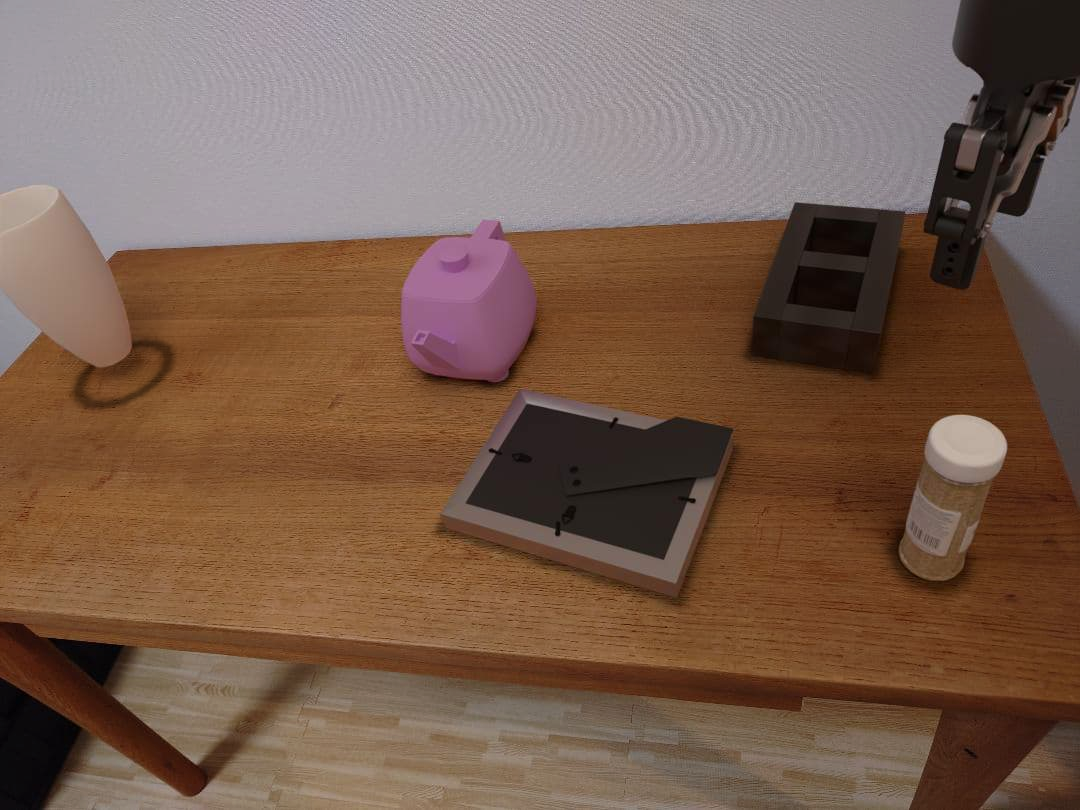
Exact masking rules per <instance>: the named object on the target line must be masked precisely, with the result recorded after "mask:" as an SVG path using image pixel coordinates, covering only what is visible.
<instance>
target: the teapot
mask: <svg viewBox="0 0 1080 810" xmlns="http://www.w3.org/2000/svg"><path fill="white" fill-rule="evenodd" d="M400 301H401V308H400V325H401V334H402V339H403V340H402V341H403V346H404V350H405V352H406V356H407V357H408V359H409V360H410V362H411V363H412V364H413V365H414V366H416V367H417V368H418V369H419V370H421V371H422V372H424V373H426V374H427V373H428V374H431V375H435V376H442V377H448V378H455V379H465V380H466V379H467V380H478V381H487V382H489V383H498V382H502V381H504V380H505V379H506V378H507V377H508V376H509V374H510V371H509V368H511V366H512V365H513V364H514V363H515V361H516V360H517V359H518V357H519V356H520V354H521V353H522V352H523V350H524V348H525V346H526V344H527V342H528V340H529V337H530V336H531V332H532V329H533V327H534V322H535V319H536V314H537V305H538V304H537V303H538V301H537V296H536V291H535V287H534V284H533V281H532V279H531V276H530V274H529V271H528V270H527V268H526V266H525V265H524V263H523V261H522V259H521V258H520V256H519V255H518V253H517V251H516V250H515V248H514V247H513V246H512V245H511V243H510V242H509V241H507V239H506V235H505V233H504V230H503V227H502V223H501V221H500V220H495V219H482V220H481V221H480V222H479V224H478V226H477V227H476V229H475V230H474V232H473V233H472V235H471V236H470V237H468V236H467V237H466V236H465V237H463V236H446V237H442V238H440V239H438V240H437V241H435V242H434V243H433V244H431V245H430V246H429V247H428V248H427V249H426V250H425V251H424V253H423V254H422V255H421V256H420V257H419V258H418V260H417V261H416V263H415V264H414V265H413V267H412V269H410V272H409V274H408V276H407V278H406V279H405V281H404V284H403V287H402V290H401V300H400Z"/></svg>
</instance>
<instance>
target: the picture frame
mask: <svg viewBox="0 0 1080 810" xmlns="http://www.w3.org/2000/svg"><path fill="white" fill-rule="evenodd" d="M733 432H734V428H733V427H730V426H729V427H728V426H724V425H718V424H714V423H709V422H705V421H699V420H695V419H690V418H686V417H681V416H674V417H672V418H669V419H663V418H658V417H654V416H649V415H646V414H645V415H644V414H640V413H635V412H631V411H627V410H626V411H625V410H622V409H616V408H611V407H607V406H603V405H598V404H592V403H590V402H589V403H588V402H583V401H579V400H574V399H570V398H565V397H560V396H556V395H551V394H546V393H541V392H537V391H532V390H528V389H524V388H519V389H518V391H517V392H516V393H515V394H514V397H513V399H512V400H511V402H510V403H509V405H508V406H507V408H506V410H505V411H504V412H503V414H502V416H501V417H500V419H499V420H498V421H497V423H496V425H495V426H494V428H493V429H492V431H491V433H490V434H489V436H488V437H487V439H486V441H485V442H484V444H483V445H482V447H481V449H480V451H479V452H478V453H477V455H476V457H475V458H474V460H473V461H472V463H471V464H470V466H469V468H468V469H467V471H466V472H465V474H464V476H463V477H462V478H461V480H460V482H459V484H458V485H457V487H456V488H455V489H454V491H453V493H452V494H451V496H450V497H449V499H448V501H447V502H446V504H445V505H444V507H443V508H442V509H441V511H440V513H439V514H440V518H441V520H442V522H443V526H444V527H445V529H447V530H450V531H453V532H458V533H461V534H464V535H467V536H470V537H473V538H476V539H480V540H484V541H487V542H491V543H493V544H496V545H500V546H503V547H507V548H510V549H514V550H516V551H519V552H523V553H526V554H530V555H533V556H536V557H540V558H543V559H546V560H548V561H553V562H556V563H560V564H562V565H566V566H569V567H572V568H576V569H579V570H582V571H586V572H590V573H592V574H595V575H599V576H601V577H606V578H608V579H613V580H616V581H619V582H622V583H626V584H629V585H631V586H635V587H637V588H638V587H639V588H642V589H645V590H648V591H651V592H655V593H658V594H662V595H665V596H668V597H671V598H675V599H678V597H679V594H680V592H681V589H682V587H683V584H684V581H685V579H686V576H687V573H688V570H689V568H690V565H691V562H692V560H693V557H694V554H695V552H696V549H697V546H698V543H699V541H700V539H701V535H702V533H703V530H704V528H705V525H706V522H707V520H708V517H709V514H710V511H711V510H712V506H713V504H714V501H715V498H716V496H717V494H718V491H719V487H720V485H721V483H722V480H723V477H724V474H725V472H726V469H727V466H728V463H729V462H730V458H731V456H732V454H733V453H732V452H733V449H734V434H733Z"/></svg>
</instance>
